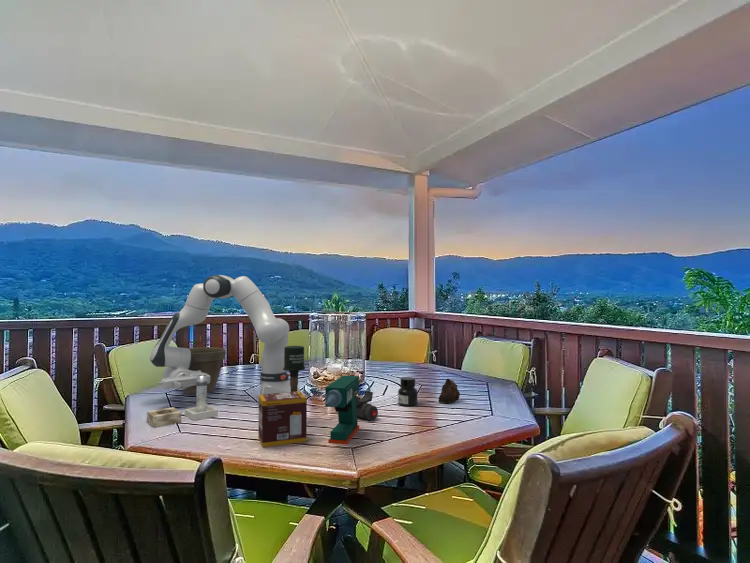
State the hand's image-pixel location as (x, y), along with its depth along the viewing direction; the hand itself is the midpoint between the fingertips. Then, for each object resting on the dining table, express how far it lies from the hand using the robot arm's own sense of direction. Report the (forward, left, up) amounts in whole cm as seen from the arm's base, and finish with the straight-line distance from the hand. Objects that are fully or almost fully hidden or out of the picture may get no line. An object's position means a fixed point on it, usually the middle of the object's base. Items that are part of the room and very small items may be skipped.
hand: (192, 384), depth 193 cm
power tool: (-76, +16, -12) cm, 79 cm away
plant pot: (+21, -31, -12) cm, 39 cm away
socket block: (-1, +17, -11) cm, 21 cm away
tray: (-9, +5, -11) cm, 16 cm away
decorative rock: (-105, -51, -12) cm, 117 cm away
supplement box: (-56, +21, -12) cm, 61 cm away
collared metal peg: (-9, +5, -11) cm, 15 cm away
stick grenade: (-50, +1, -12) cm, 52 cm away
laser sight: (-70, -15, -12) cm, 73 cm away
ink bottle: (-87, -40, -12) cm, 97 cm away
